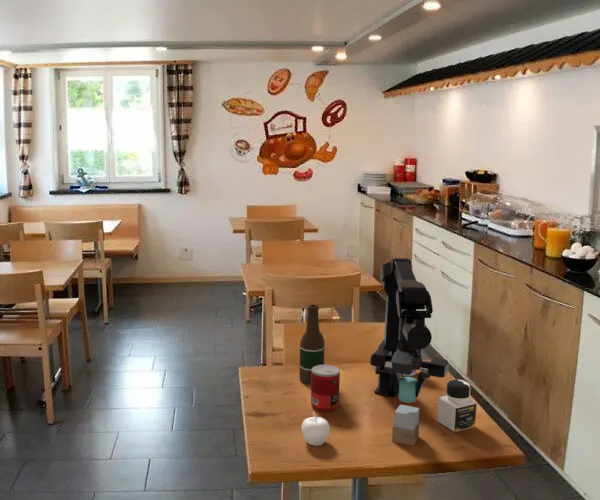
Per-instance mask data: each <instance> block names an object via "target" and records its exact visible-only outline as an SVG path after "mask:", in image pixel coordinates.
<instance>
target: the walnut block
mask: <svg viewBox="0 0 600 500" xmlns="http://www.w3.org/2000/svg"><path fill="white" fill-rule="evenodd" d="M391 431H392V434H391V435H392V437H391V442H394V443H398V444H403V445H408V446H412V447H414V445H415V444H416V443H417V440H418V439H419V436H420V422H419V423H418V424H417V426H416V428H415V429H414V431H412V430H407V429H402V428H398V427H394V425H393V426H392V430H391Z"/></svg>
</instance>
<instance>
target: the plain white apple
mask: <svg viewBox="0 0 600 500" xmlns="http://www.w3.org/2000/svg"><path fill="white" fill-rule="evenodd" d="M312 414H313V416H311V417H307V418H304V420H303V421H302V424H301V432H302V435H303V437H304V440H305V441H306V443H307V444H308V445H311V446H313V447H319V446H322V445H323V444H324V443H325V442H326V440H327V438H328V437H329V434H330V432H331V431H330V428H331V427H330V424H329V422H328V421H327V420H326V419H325V418H323V417H321V416H320V417H319V416H317V415H316V413H315V412H314V411H313V412H312Z"/></svg>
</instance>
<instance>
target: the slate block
mask: <svg viewBox="0 0 600 500" xmlns="http://www.w3.org/2000/svg"><path fill="white" fill-rule="evenodd" d="M419 419H420V407H415V406H411V405H405V404H399V405H398V407H397V408H396V409H395V411H394V424H393V426H394V427H398V428H402V429H407V430H412V431H414V429H415V428H416V426H417V424H418V423H419V424H420V422H419Z"/></svg>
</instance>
